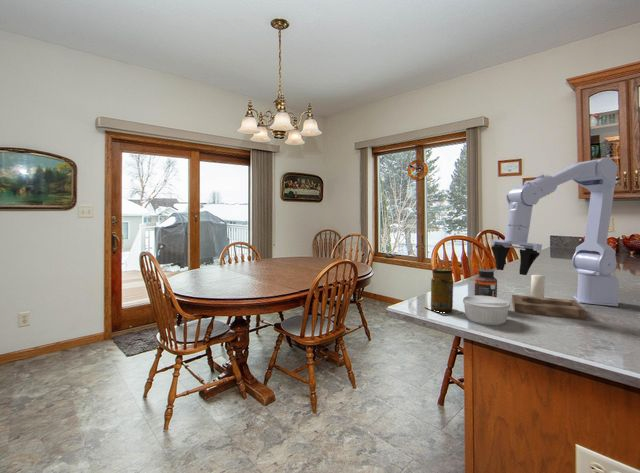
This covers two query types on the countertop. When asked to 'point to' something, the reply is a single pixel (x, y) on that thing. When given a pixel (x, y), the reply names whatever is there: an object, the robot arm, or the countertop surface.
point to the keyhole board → (548, 306)
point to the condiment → (442, 292)
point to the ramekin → (486, 309)
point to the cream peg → (537, 285)
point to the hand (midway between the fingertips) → (510, 272)
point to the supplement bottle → (486, 283)
